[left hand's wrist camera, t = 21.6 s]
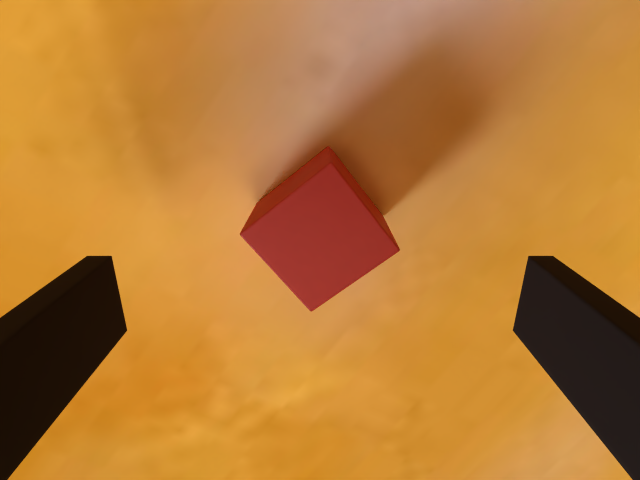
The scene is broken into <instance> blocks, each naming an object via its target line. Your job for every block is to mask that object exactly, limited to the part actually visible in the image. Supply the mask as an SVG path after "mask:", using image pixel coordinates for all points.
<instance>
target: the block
mask: <svg viewBox="0 0 640 480" xmlns="http://www.w3.org/2000/svg"><path fill="white" fill-rule="evenodd" d="M240 235H241V236H242V237H243V239H244V240H245V241H246V242H247V243H248V244H249V245H250V246H251V247H252V248H253V249H254V251H255V252H256V253H257V254H258V255H259V256H260V257H261V258H262V259H263V260H264V261H265V262H266V264H267V265H268V266H269V267H270V268H271V269H272V270H273V271H274V272H275V273H276V274H277V275H278V277H279V278H280V279H281V280H282V281H283V282H284V283H285V284H286V285H287V286H288V287H289V288H290V290H291V291H292V292H293V293H294V294H295V295H296V296H297V297H298V298H299V299H300V300H301V302H302V303H303V304H304V305H305V306H306V307H307V308H308V309H309V310H310V311H313V310H315V309H316V308H317V307H319V306H320V305H322V304H323V303H325V302H326V301H328V300H329V299H330V298H332V297H333V296H335V295H336V294H338V293H339V292H341V291H342V290H343V289H345V288H346V287H348V286H349V285H351V284H352V283H354V282H355V281H357V280H358V279H359V278H361V277H362V276H364V275H365V274H367V273H368V272H370V271H371V270H372V269H374V268H375V267H377V266H378V265H380V264H381V263H383V262H384V261H385V260H387V259H388V258H390V257H391V256H393V255H394V254H396V253H397V252H398V251H399V250H400V249H399V247H398V245H397V243H396V241H395V239H394V237H393V235H392V233H391V231H390V229H389V227H388V225H387V223H386V221H385V219H384V217H383V216H382V214H381V213H380V212H379V210H378V209H377V208H376V206H375V205H374V204H373V202H372V201H371V200H370V199H369V197H368V196H367V195H366V193H365V192H364V191H363V189H362V188H361V187H360V186H359V184H358V183H357V182H356V180H355V179H354V178H353V176H352V175H351V174H350V172H349V171H348V170H347V169H346V167H345V166H344V165H343V163H342V162H341V161H340V159H339V158H338V157H337V156H336V154H335V153H334V152H333V150H332V149H331V148H330V147H329V146H328V147H326V148H325V149H324V150H323V151H321V152H320V153H319V154H318V155H316V156H315V157H314V158H313V159H311V160H310V161H309V162H308V163H306V164H305V165H304V166H303V167H301V168H300V169H299V170H298V171H296V172H295V173H294V174H293V175H291V176H290V177H289V178H288V179H286V180H285V181H284V182H283V183H281V184H280V185H279V186H278V187H276V188H275V189H274V190H273V191H271V192H270V193H269V194H268V195H266V196H265V197H264V198H263V199H261V200H260V201H259V202H258V203H257V204H256V206H255V207H254V209H253V211H252V213H251V215H250V216H249V218H248V220H247V222H246V224H245V225H244V227H243V229H242V231H241V233H240Z"/></svg>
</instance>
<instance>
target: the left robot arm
mask: <svg viewBox="0 0 640 480" xmlns="http://www.w3.org/2000/svg"><path fill="white" fill-rule="evenodd" d="M126 331H127V328H126V323H125V318H124V313H123V309H122V304H121V299H120V294H119V289H118V285H117V280H116V275H115V270H114V266H113V261H112V256H86V257H85V258H84V259H82V260H81V261H79V262H78V263H77V264H75V265H74V266H72V267H71V268H70V269H68V270H67V271H65V272H64V273H63V274H61V275H60V276H58V277H57V278H56V279H54V280H53V281H51V282H50V283H49V284H47V285H46V286H44V287H43V288H42V289H40V290H39V291H37V292H36V293H35V294H33V295H32V296H30V297H29V298H27V299H26V300H25V301H23V302H22V303H20V304H19V305H18V306H16V307H15V308H13V309H12V310H11V311H9V312H8V313H6V314H5V315H4V316H2V317H1V318H0V480H7V479H8V478H9V477H10V476H11V474H12V473H13V472H14V471H15V469H16V468H17V467H18V466H19V464H20V463H21V462H22V461H23V459H24V458H25V457H26V456H27V454H28V453H29V452H30V451H31V449H32V448H33V447H34V446H35V444H36V443H37V442H38V441H39V440H40V438H41V437H42V436H43V435H44V433H45V432H46V431H47V430H48V428H49V427H50V426H51V425H52V423H53V422H54V421H55V420H56V418H57V417H58V416H59V415H60V413H61V412H62V411H63V410H64V408H65V407H66V406H67V405H68V403H69V402H70V401H71V400H72V398H73V397H74V396H75V395H76V393H77V392H78V391H79V390H80V388H81V387H82V386H83V385H84V383H85V382H86V381H87V380H88V378H89V377H90V376H91V375H92V374H93V372H94V371H95V370H96V369H97V367H98V366H99V365H100V364H101V362H102V361H103V360H104V359H105V357H106V356H107V355H108V354H109V352H110V351H111V350H112V349H113V347H114V346H115V345H116V344H117V342H118V341H119V340H120V339H121V337H122V336H123V335H124V334H125V332H126ZM513 331H514V332H515V334H516V335H517V336H518V337H519V339H520V340H521V341H522V342H523V344H524V345H525V346H526V347H527V349H528V350H529V351H530V352H531V354H532V355H533V356H534V357H535V359H536V360H537V361H538V362H539V364H540V365H541V366H542V367H543V369H544V370H545V371H546V372H547V374H548V375H549V376H550V377H551V378H552V380H553V381H554V382H555V383H556V385H557V386H558V387H559V388H560V390H561V391H562V392H563V393H564V395H565V396H566V397H567V398H568V400H569V401H570V402H571V403H572V405H573V406H574V407H575V408H576V410H577V411H578V412H579V413H580V415H581V416H582V417H583V418H584V420H585V421H586V422H587V423H588V425H589V426H590V427H591V428H592V430H593V431H594V432H595V433H596V435H597V436H598V437H599V438H600V440H601V441H602V442H603V443H604V445H605V446H606V447H607V448H608V449H609V451H610V452H611V453H612V454H613V456H614V457H615V458H616V459H617V461H618V462H619V463H620V464H621V466H622V467H623V468H624V469H625V471H626V472H627V473H628V474H629V476H630V477H631V478H632V479H633V480H640V318H639V317H638V316H636V315H635V314H634V313H632V312H631V311H629V310H628V309H627V308H625V307H624V306H622V305H621V304H620V303H618V302H617V301H615V300H614V299H613V298H611V297H610V296H608V295H607V294H605V293H604V292H603V291H601V290H600V289H598V288H597V287H596V286H594V285H593V284H591V283H590V282H589V281H587V280H586V279H584V278H583V277H582V276H580V275H579V274H577V273H576V272H575V271H573V270H572V269H570V268H569V267H568V266H566V265H565V264H563V263H562V262H561V261H559V260H558V259H556V258H555V257H554V256H528V261H527V266H526V270H525V275H524V280H523V285H522V289H521V294H520V299H519V304H518V309H517V313H516V318H515V323H514V328H513Z"/></svg>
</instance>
